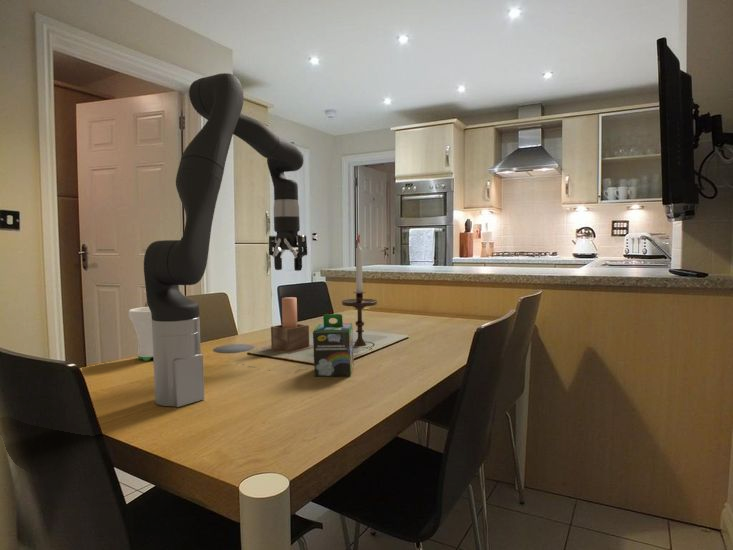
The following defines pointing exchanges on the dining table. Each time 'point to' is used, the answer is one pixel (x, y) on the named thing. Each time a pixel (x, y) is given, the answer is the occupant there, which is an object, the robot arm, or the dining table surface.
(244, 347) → the coaster
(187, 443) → the dining table surface
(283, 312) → the dowel
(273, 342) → the open wooden box
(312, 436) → the dining table surface
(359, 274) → the candlestick
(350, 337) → the chalk box
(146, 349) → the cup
